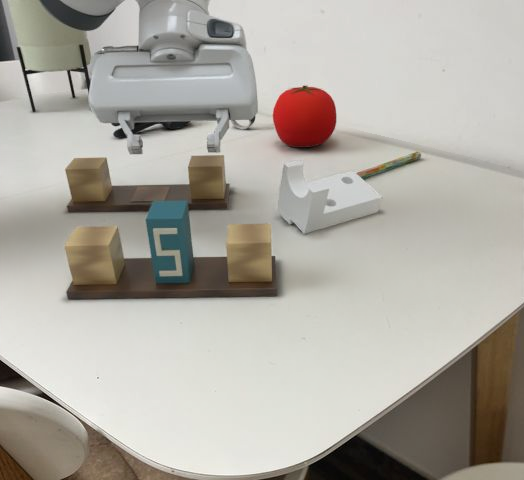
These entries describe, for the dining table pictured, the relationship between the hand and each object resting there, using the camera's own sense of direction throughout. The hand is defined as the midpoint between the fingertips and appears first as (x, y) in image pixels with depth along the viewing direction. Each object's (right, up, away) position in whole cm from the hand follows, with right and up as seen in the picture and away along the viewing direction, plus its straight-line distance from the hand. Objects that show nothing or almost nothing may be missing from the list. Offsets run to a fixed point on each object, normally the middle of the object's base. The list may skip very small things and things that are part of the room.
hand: (174, 151), depth 68 cm
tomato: (+18, +15, +41) cm, 48 cm away
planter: (-36, +35, +69) cm, 86 cm away
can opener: (-13, +22, +51) cm, 57 cm away
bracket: (+20, -5, +14) cm, 25 cm away
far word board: (-7, 0, +21) cm, 22 cm away
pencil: (+31, +7, +29) cm, 43 cm away
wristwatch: (+6, +22, +51) cm, 56 cm away
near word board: (0, -15, 0) cm, 15 cm away
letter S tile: (0, -15, 0) cm, 15 cm away
